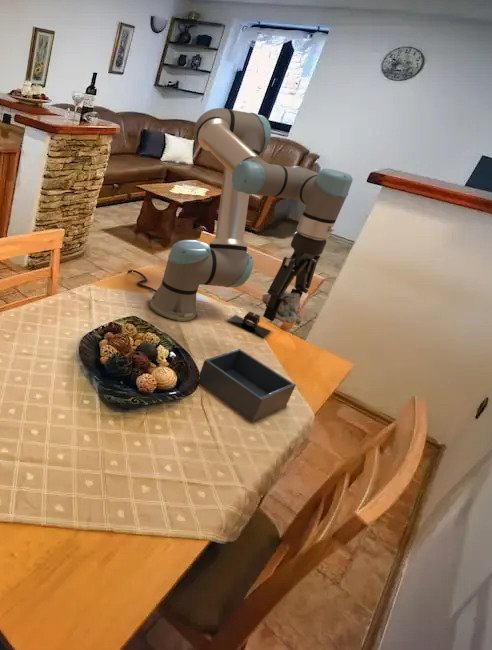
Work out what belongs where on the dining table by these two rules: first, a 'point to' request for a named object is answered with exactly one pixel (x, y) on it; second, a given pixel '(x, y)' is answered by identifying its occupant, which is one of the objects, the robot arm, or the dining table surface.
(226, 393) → the dark blue storage bin
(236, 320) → the build plate
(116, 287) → the dining table surface
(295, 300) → the mineral specimen
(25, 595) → the dining table surface
